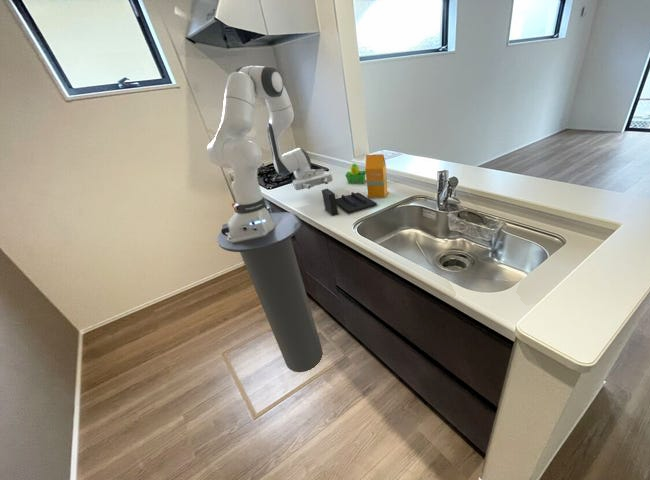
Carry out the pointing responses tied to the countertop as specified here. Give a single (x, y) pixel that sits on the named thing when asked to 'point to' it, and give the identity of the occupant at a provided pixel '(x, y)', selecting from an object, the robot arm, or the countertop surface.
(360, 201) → the base pad
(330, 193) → the upright pad
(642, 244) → the countertop surface
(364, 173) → the fruit basket
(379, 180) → the orange juice
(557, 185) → the countertop surface
